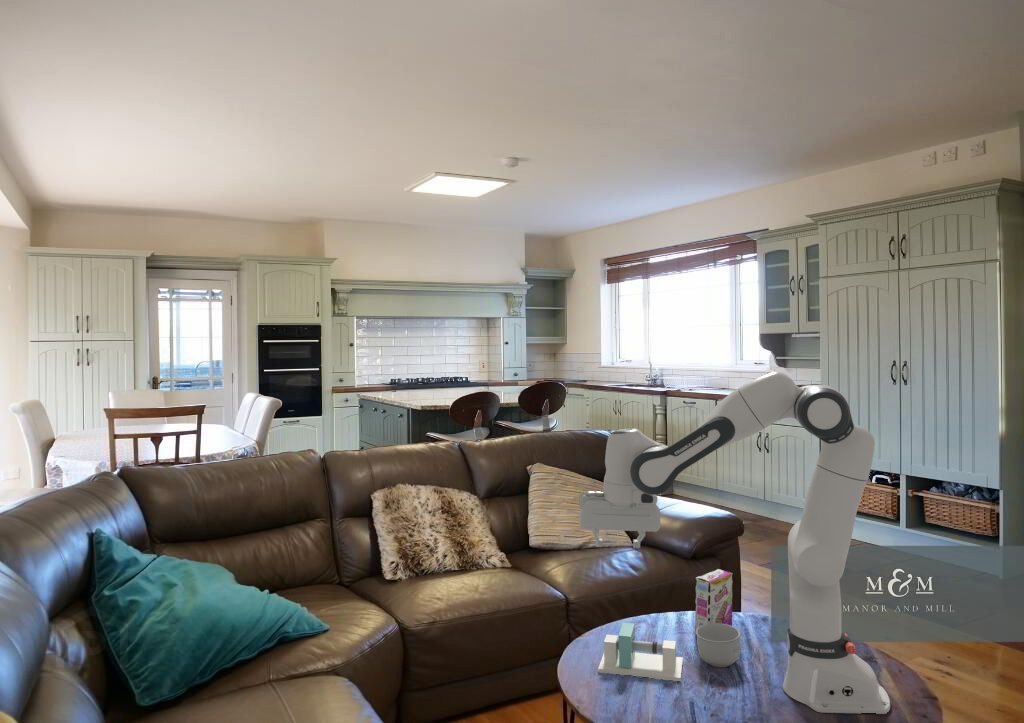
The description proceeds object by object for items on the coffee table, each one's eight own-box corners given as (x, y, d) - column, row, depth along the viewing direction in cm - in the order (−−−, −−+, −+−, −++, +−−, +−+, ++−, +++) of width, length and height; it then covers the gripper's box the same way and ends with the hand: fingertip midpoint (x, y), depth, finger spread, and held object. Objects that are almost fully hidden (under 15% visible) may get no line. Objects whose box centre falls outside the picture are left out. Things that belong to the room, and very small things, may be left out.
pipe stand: (683, 661, 185) (682, 635, 185) (680, 681, 175) (680, 654, 174) (605, 652, 191) (604, 628, 190) (598, 672, 180) (597, 646, 180)
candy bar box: (710, 641, 196) (709, 582, 195) (694, 635, 200) (694, 577, 199) (733, 629, 203) (733, 572, 203) (718, 624, 207) (718, 567, 206)
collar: (635, 653, 187) (634, 623, 187) (631, 668, 179) (630, 636, 179) (623, 652, 188) (622, 622, 188) (619, 666, 180) (618, 635, 180)
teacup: (742, 673, 178) (742, 641, 178) (697, 670, 180) (697, 638, 180) (736, 648, 192) (736, 618, 191) (694, 645, 194) (694, 616, 194)
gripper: (581, 494, 177) (578, 549, 178) (663, 497, 178) (660, 552, 179) (577, 488, 183) (574, 541, 184) (657, 491, 184) (654, 544, 185)
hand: (617, 547), depth 182 cm, fingers open, 8 cm apart
